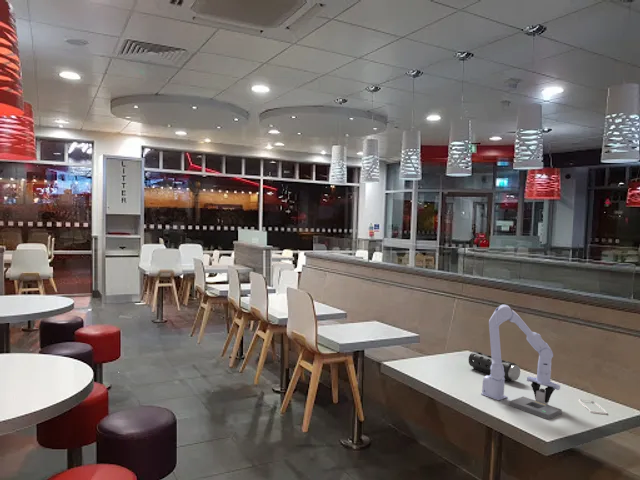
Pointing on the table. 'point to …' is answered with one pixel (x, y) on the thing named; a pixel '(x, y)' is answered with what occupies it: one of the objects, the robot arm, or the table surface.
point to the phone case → (593, 411)
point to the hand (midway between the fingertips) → (541, 400)
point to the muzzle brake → (485, 361)
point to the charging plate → (543, 410)
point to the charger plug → (541, 396)
